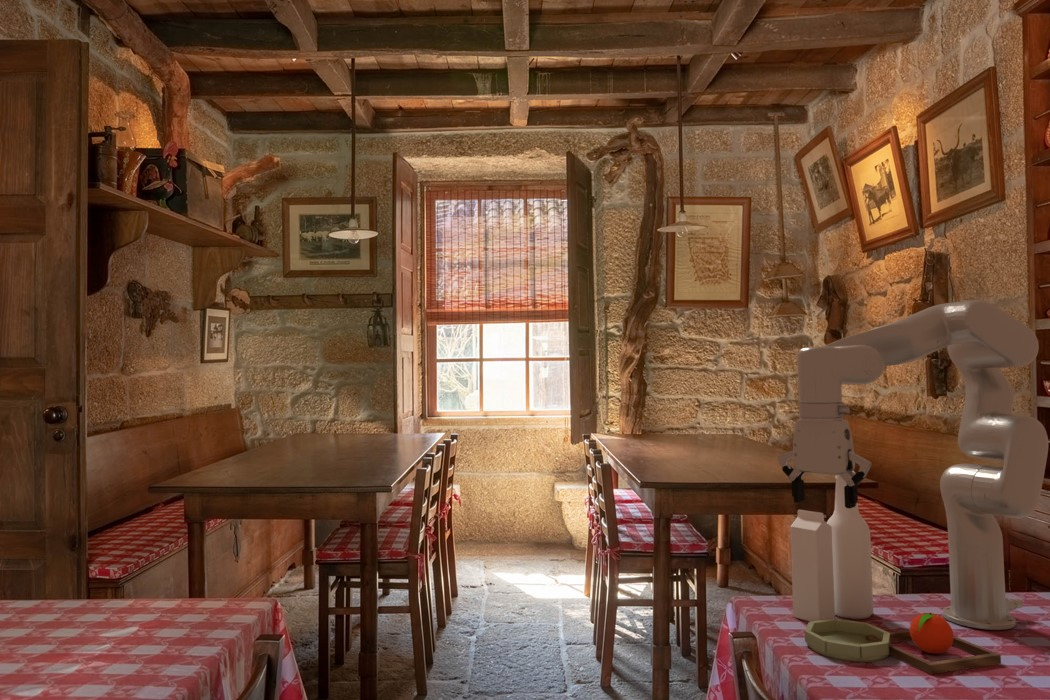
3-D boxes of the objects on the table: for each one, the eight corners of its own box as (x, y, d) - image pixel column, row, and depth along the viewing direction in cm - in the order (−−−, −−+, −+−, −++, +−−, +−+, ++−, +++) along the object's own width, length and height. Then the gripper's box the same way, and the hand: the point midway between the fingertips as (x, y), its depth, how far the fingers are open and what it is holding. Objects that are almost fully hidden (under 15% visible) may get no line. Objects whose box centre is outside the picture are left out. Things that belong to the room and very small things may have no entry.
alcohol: (832, 618, 149) (826, 473, 150) (824, 605, 157) (819, 468, 159) (878, 621, 147) (872, 473, 148) (867, 607, 155) (862, 468, 157)
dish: (852, 630, 142) (852, 616, 142) (907, 656, 128) (907, 640, 128) (791, 638, 138) (790, 623, 138) (841, 666, 124) (841, 649, 125)
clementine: (940, 664, 124) (938, 623, 125) (900, 652, 130) (898, 613, 130) (961, 653, 129) (959, 613, 129) (921, 642, 135) (919, 604, 135)
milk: (819, 624, 146) (815, 515, 146) (792, 617, 150) (788, 511, 151) (835, 618, 149) (831, 511, 150) (808, 610, 154) (805, 507, 155)
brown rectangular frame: (930, 634, 139) (930, 626, 139) (1001, 663, 124) (1000, 654, 124) (865, 643, 135) (865, 635, 135) (930, 674, 120) (930, 665, 120)
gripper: (876, 412, 131) (880, 506, 130) (786, 410, 144) (789, 497, 143) (859, 414, 126) (863, 512, 125) (767, 412, 138) (771, 502, 138)
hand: (824, 504), depth 134 cm, fingers open, 9 cm apart
